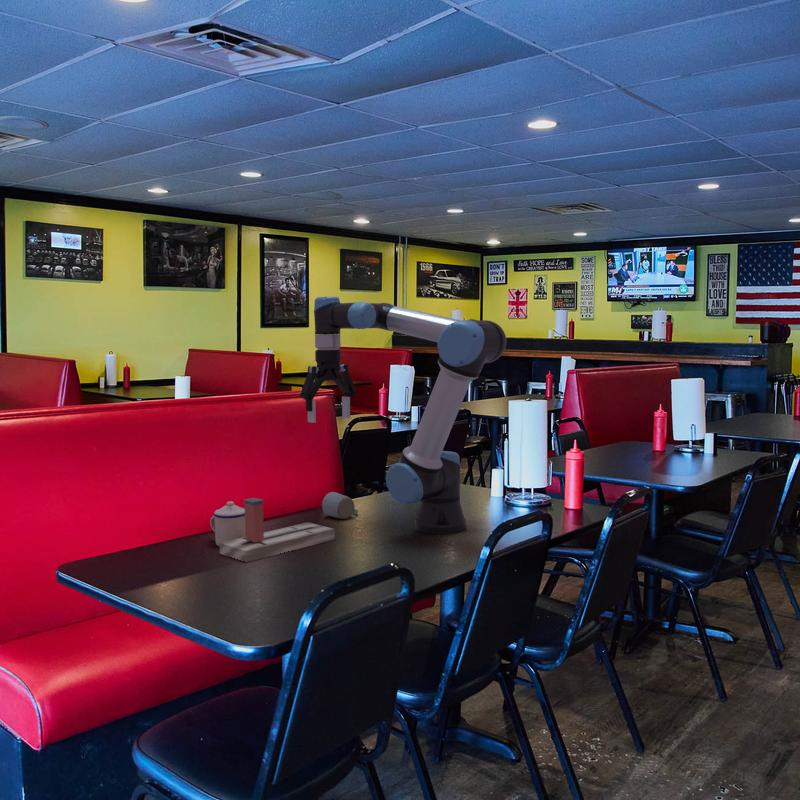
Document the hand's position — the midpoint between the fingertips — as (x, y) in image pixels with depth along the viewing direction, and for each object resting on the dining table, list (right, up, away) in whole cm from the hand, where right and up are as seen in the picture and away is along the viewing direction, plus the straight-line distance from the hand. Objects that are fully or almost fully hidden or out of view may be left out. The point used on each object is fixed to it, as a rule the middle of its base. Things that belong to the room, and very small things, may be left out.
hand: (329, 420), depth 245 cm
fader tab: (-18, -31, -27) cm, 45 cm away
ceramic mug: (+3, -31, +13) cm, 34 cm away
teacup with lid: (-27, -34, -17) cm, 46 cm away
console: (-12, -34, -21) cm, 42 cm away
